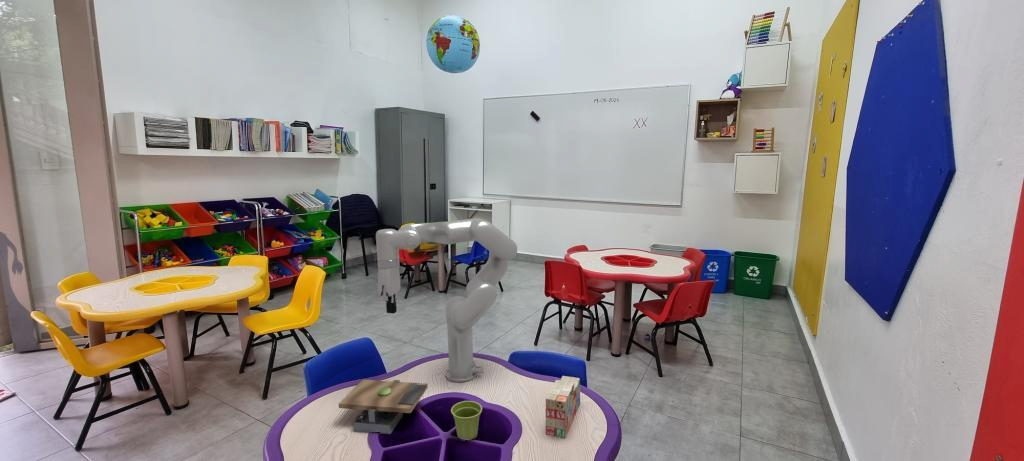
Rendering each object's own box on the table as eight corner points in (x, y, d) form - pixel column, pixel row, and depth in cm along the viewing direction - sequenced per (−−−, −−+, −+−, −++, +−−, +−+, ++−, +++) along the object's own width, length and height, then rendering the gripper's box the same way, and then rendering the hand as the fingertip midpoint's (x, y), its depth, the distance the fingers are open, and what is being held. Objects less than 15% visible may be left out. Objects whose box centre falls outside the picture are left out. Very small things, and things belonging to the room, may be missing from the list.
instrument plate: (427, 390, 155) (427, 380, 154) (410, 416, 139) (410, 405, 139) (362, 386, 159) (362, 377, 158) (339, 411, 143) (338, 400, 142)
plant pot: (484, 426, 142) (483, 400, 141) (481, 444, 133) (480, 417, 131) (454, 426, 142) (453, 400, 141) (449, 444, 133) (448, 417, 132)
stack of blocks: (562, 400, 157) (562, 367, 155) (580, 403, 154) (580, 369, 153) (545, 435, 137) (545, 397, 135) (565, 439, 135) (565, 401, 133)
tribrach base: (414, 398, 159) (413, 380, 158) (390, 434, 139) (388, 413, 138) (382, 396, 161) (381, 378, 160) (354, 431, 140) (352, 410, 139)
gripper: (387, 258, 168) (390, 305, 171) (369, 268, 154) (372, 319, 157) (406, 259, 167) (409, 306, 170) (390, 268, 153) (393, 320, 156)
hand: (391, 312), depth 163 cm, fingers closed
